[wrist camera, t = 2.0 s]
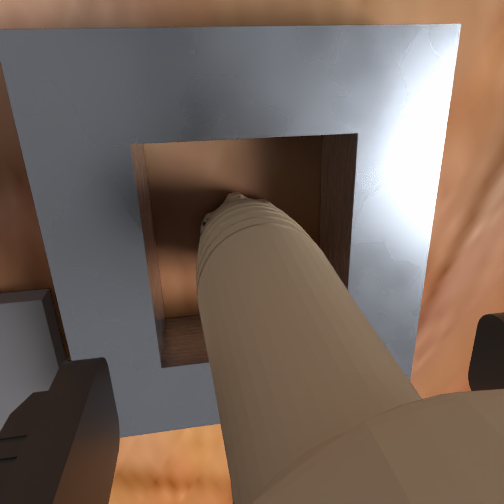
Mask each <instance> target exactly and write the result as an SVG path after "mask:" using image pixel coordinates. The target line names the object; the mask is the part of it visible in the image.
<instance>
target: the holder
mask: <svg viewBox="0 0 504 504" xmlns="http://www.w3.org/2000/svg"><path fill="white" fill-rule="evenodd" d="M460 28H461V24H411V25H326V26H241V27H155V28H70V29H0V62H1V66H2V70H3V75H4V79H5V83H6V87H7V91H8V96H9V100H10V104H11V108H12V112H13V117H14V121H15V125H16V129H17V133H18V138H19V142H20V146H21V150H22V154H23V159H24V163H25V167H26V171H27V176H28V180H29V184H30V188H31V192H32V197H33V201H34V205H35V209H36V213H37V218H38V222H39V226H40V230H41V234H42V239H43V243H44V247H45V251H46V255H47V260H48V264H49V268H50V272H51V276H52V281H53V285H54V289H55V293H56V297H57V302H58V306H59V310H60V314H61V318H62V323H63V327H64V331H65V335H66V339H67V344H68V348H69V352H70V356H71V360H72V361H73V360H82V359H91V358H99V357H104V358H105V359H106V361H107V363H108V367H109V372H110V377H111V382H112V387H113V393H114V398H115V403H116V408H117V413H118V418H119V429H120V438H121V437H128V436H135V435H142V434H149V433H156V432H163V431H171V430H178V429H185V428H192V427H199V426H206V425H213V424H220V418H219V412H218V406H217V401H216V395H215V389H214V384H213V379H212V374H211V368H210V363H209V358H208V353H207V348H206V343H205V338H204V332H203V327H202V322H201V317H200V315H197V316H188V317H178V318H169V319H165V312H164V304H163V296H162V288H161V281H160V273H159V265H158V257H157V249H156V241H155V233H154V226H153V218H152V210H151V202H150V194H149V186H148V178H147V170H146V163H145V155H144V147H143V144H145V143H166V142H186V141H207V140H227V139H248V138H268V137H289V136H309V135H323V144H322V173H321V202H320V231H319V248H320V249H321V250H322V252H323V253H324V255H325V256H326V258H327V259H328V261H329V262H330V264H331V266H332V267H333V269H334V270H335V272H336V273H337V275H338V276H339V278H340V279H341V281H342V282H343V284H344V285H345V287H346V288H347V290H348V291H349V293H350V295H351V296H352V298H353V299H354V301H355V302H356V304H357V305H358V307H359V308H360V310H361V311H362V313H363V314H364V316H365V317H366V319H367V320H368V322H369V323H370V324H371V326H372V327H373V329H374V330H375V332H376V333H377V335H378V336H379V337H380V339H381V340H382V342H383V343H384V345H385V346H386V348H387V349H388V350H389V352H390V353H391V355H392V356H393V358H394V359H395V360H396V362H397V363H398V365H399V366H400V368H401V369H402V371H403V372H404V373H405V375H406V376H407V378H408V379H409V381H410V377H411V370H412V363H413V356H414V349H415V342H416V335H417V328H418V321H419V314H420V307H421V300H422V293H423V286H424V279H425V272H426V265H427V258H428V251H429V244H430V237H431V230H432V223H433V216H434V209H435V202H436V196H437V189H438V182H439V175H440V168H441V161H442V154H443V147H444V140H445V133H446V126H447V119H448V112H449V105H450V98H451V91H452V84H453V77H454V70H455V63H456V56H457V49H458V42H459V35H460Z"/></svg>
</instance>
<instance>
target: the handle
mask: <svg viewBox="0 0 504 504" xmlns="http://www.w3.org/2000/svg"><path fill="white" fill-rule="evenodd" d="M196 276H197V278H196V280H197V300H198V306H199V312H200V317H201V322H202V327H203V332H204V338H205V343H206V348H207V353H208V358H209V363H210V368H211V374H212V379H213V384H214V389H215V395H216V401H217V406H218V412H219V418H220V423H221V429H222V434H223V440H224V446H225V451H226V457H227V462H228V468H229V474H230V479H231V488H232V498H233V504H504V389H496V390H482V391H468V392H455V393H448V394H441V395H437V396H433V397H429V398H425V399H422V398H421V397H420V395H419V394H418V392H417V391H416V389H415V388H414V386H413V385H412V384H411V382H410V381H409V379H408V378H407V376H406V375H405V373H404V372H403V371H402V369H401V368H400V366H399V365H398V363H397V362H396V360H395V359H394V358H393V356H392V355H391V353H390V352H389V350H388V349H387V348H386V346H385V345H384V343H383V342H382V340H381V339H380V337H379V336H378V335H377V333H376V332H375V330H374V329H373V327H372V326H371V324H370V323H369V322H368V320H367V319H366V317H365V316H364V314H363V313H362V311H361V310H360V308H359V307H358V305H357V304H356V302H355V301H354V299H353V298H352V296H351V295H350V293H349V291H348V290H347V288H346V287H345V285H344V284H343V282H342V281H341V279H340V278H339V276H338V275H337V273H336V272H335V270H334V269H333V267H332V266H331V264H330V262H329V261H328V259H327V258H326V256H325V255H324V253H323V252H322V250H321V249H320V248H319V247H318V245H317V244H316V243H315V242H314V241H313V240H312V238H311V237H310V236H309V235H308V234H307V233H306V232H305V230H304V229H303V228H302V227H301V226H300V225H299V224H298V223H297V222H295V221H294V220H293V219H292V218H290V217H289V216H288V215H287V214H285V213H284V212H283V211H281V210H280V209H278V208H276V207H275V206H274V205H273V204H272V203H270V202H269V201H268V200H266V199H263V198H261V199H251V198H248V197H245V196H243V195H242V194H241V193H240V192H233V193H230V194H228V195H227V197H226V199H225V201H224V202H223V203H222V204H221V206H220V207H219V208H217V209H216V210H215V211H213V212H211V213H207V214H206V215H205V217H204V218H203V221H202V223H201V229H200V242H199V247H198V254H197V273H196Z"/></svg>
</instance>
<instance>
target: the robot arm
mask: <svg viewBox="0 0 504 504" xmlns="http://www.w3.org/2000/svg"><path fill="white" fill-rule="evenodd" d="M468 380H469V385H470V388H471V391H482V390H496V389H504V313H495V314H487V315H484V316H483V317H481V319H480V320H479V322H478V326H477V331H476V336H475V341H474V346H473V351H472V356H471V361H470V366H469V372H468ZM119 440H120V429H119V418H118V413H117V408H116V403H115V398H114V393H113V387H112V382H111V377H110V372H109V367H108V363H107V361H106V359H105V358H104V357H99V358H91V359H82V360H73V361H64V362H63V363H62V364H61V365H60V367H59V369H58V371H57V374H56V376H55V378H54V380H53V382H52V384H51V386H50V388H49V390H48V391H40V392H33V393H32V394H31V395H30V396H29V397H28V398H27V399H26V400H25V401H23V402H22V403H21V404H20V405H19V406H18V407H17V408H16V409H15V410H14V411H13V412H12V413H11V414H10V415H9V417H8V419H7V420H6V422H5V424H4V426H3V428H2V429H1V431H0V504H108V503H109V498H110V493H111V488H112V482H113V477H114V472H115V467H116V462H117V457H118V451H119Z"/></svg>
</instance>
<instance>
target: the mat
mask: <svg viewBox="0 0 504 504" xmlns="http://www.w3.org/2000/svg"><path fill="white" fill-rule="evenodd" d="M64 361H67V359H66V355H65V351H64V347H63V343H62V339H61V335H60V331H59V326H58V322H57V318H56V314H55V310H54V306H53V302H52V298H51V294H50V289H40V290H29V291H18V292H7V293H0V431H1V429H2V428H3V426H4V424H5V422H6V420H7V419H8V417H9V415H10V414H11V413H12V412H13V411H14V410H15V409H16V408H17V407H18V406H19V405H20V404H21V403H22V402H23V401H25V400H26V399H27V398H28V397H29V396H30V395H31V394H32V393H33V392H40V391H48V390H49V388H50V386H51V384H52V382H53V380H54V378H55V376H56V374H57V371H58V369H59V367H60V365H61V364H62V363H63V362H64Z"/></svg>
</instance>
